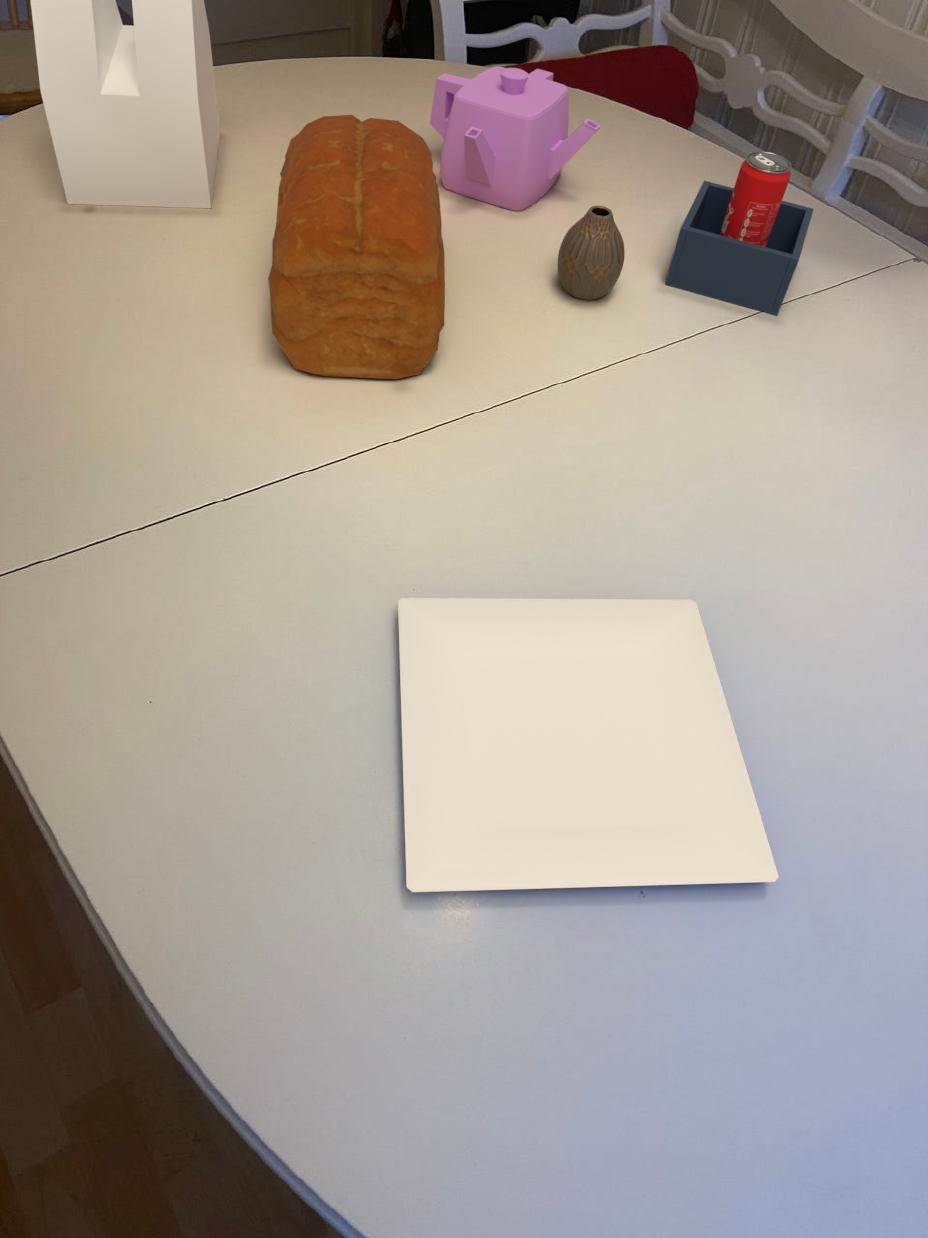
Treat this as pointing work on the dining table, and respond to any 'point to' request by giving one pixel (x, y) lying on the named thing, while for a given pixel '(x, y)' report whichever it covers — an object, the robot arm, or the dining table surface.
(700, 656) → the plate
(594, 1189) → the dining table surface
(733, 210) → the beverage can
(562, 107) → the teakettle
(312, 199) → the bread
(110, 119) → the white notched block
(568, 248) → the vase
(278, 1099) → the dining table surface
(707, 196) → the tub
